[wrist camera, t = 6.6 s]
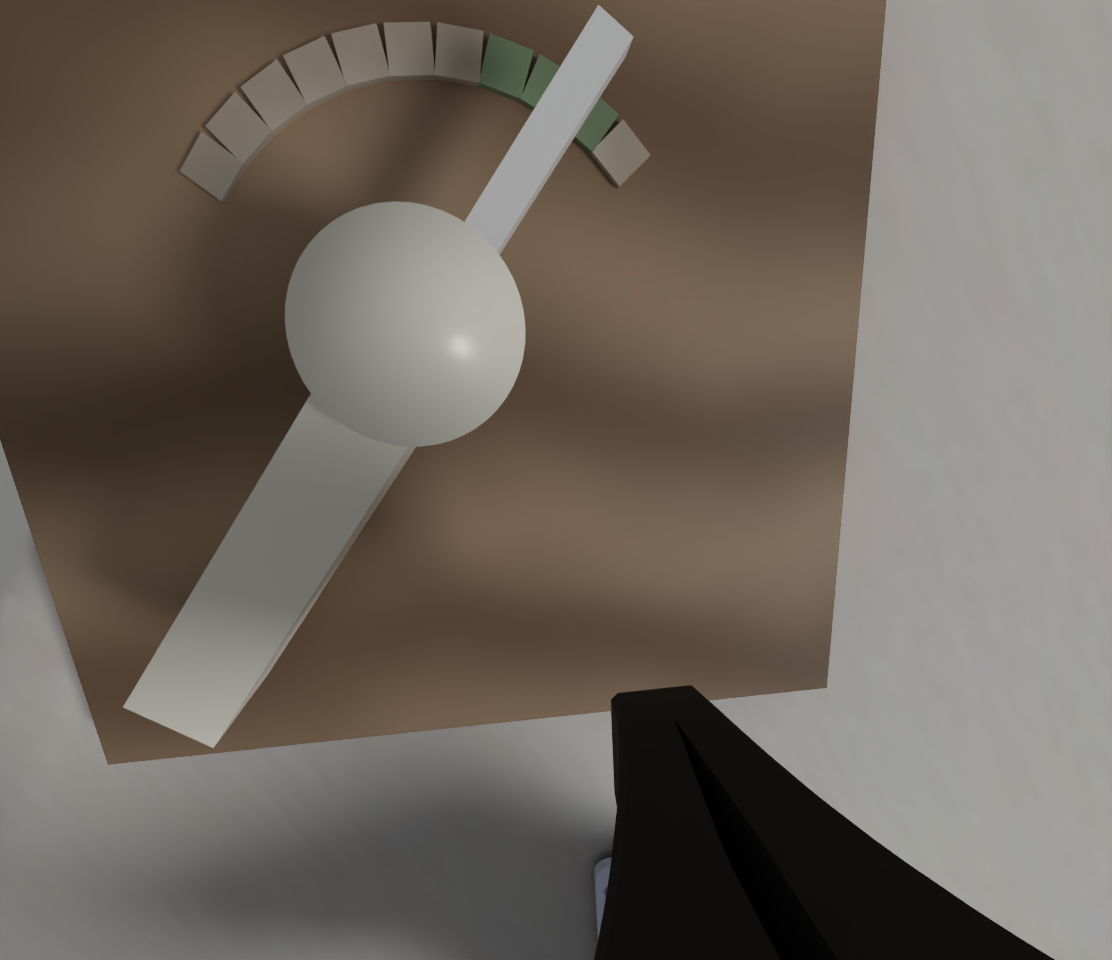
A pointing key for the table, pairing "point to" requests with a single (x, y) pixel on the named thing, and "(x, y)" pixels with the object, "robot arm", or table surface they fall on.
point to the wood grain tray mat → (545, 374)
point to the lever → (368, 399)
